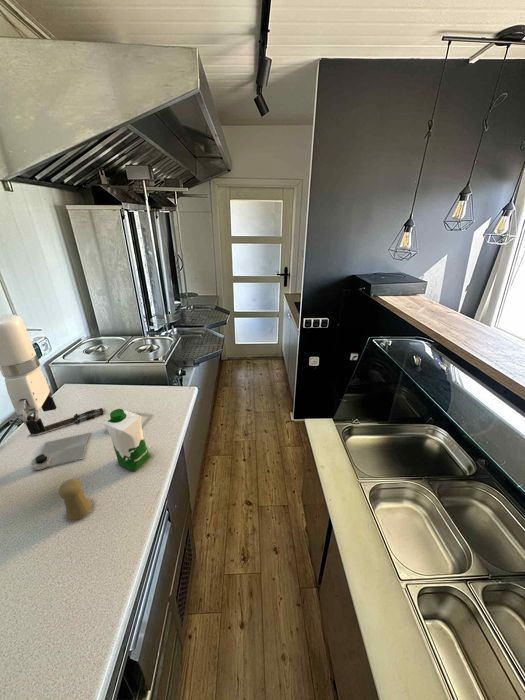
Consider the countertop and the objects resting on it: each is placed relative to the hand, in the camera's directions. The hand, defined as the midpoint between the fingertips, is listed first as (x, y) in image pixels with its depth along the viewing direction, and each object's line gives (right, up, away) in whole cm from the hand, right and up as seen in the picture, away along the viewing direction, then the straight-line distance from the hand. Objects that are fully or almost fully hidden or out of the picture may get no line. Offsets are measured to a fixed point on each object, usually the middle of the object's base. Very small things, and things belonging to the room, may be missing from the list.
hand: (44, 420), depth 77 cm
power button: (-15, -18, +18) cm, 29 cm away
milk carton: (+16, -19, +20) cm, 32 cm away
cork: (+7, -27, +4) cm, 28 cm away
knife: (-19, -11, +38) cm, 43 cm away
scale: (-11, -17, +24) cm, 32 cm away
